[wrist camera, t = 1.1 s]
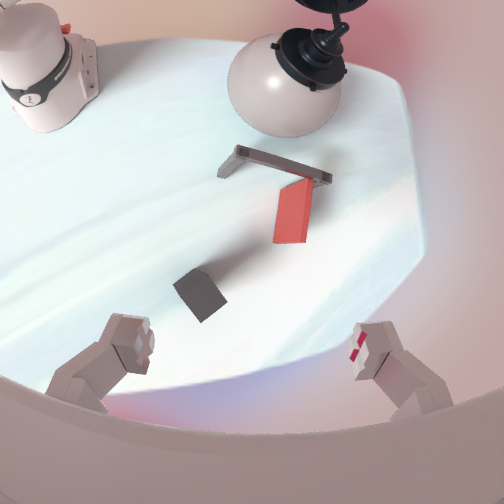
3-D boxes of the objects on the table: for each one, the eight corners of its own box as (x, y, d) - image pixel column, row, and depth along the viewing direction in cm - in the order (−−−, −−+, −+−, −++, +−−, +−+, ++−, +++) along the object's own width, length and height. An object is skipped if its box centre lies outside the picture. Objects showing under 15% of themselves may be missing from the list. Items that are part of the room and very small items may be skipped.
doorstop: (172, 284, 46) (179, 296, 35) (194, 268, 48) (207, 274, 36) (188, 305, 47) (200, 323, 36) (209, 289, 49) (227, 302, 37)
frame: (294, 188, 54) (332, 174, 42) (293, 196, 54) (331, 183, 42) (216, 168, 49) (237, 144, 37) (214, 176, 49) (235, 154, 37)
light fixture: (211, 142, 48) (301, 18, 17) (222, 49, 48) (290, -69, 17) (307, 159, 55) (443, 96, 24) (305, 70, 55) (402, -12, 24)
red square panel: (280, 189, 52) (308, 178, 43) (285, 191, 53) (313, 180, 43) (272, 242, 52) (299, 241, 43) (277, 243, 52) (305, 242, 43)
